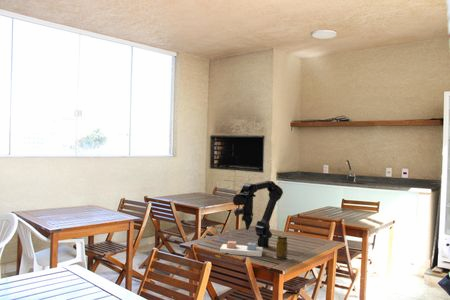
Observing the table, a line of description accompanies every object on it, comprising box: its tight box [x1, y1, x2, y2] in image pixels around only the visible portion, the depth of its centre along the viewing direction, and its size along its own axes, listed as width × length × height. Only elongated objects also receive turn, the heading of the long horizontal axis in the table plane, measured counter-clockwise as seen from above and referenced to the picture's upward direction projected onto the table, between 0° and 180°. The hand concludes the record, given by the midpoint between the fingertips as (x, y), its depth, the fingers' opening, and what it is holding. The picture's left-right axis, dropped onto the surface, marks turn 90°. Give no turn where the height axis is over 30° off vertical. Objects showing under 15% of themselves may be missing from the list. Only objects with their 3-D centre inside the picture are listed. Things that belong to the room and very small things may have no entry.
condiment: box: [272, 235, 293, 261], centre depth 221 cm, size 7×8×12 cm
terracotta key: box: [226, 240, 237, 249], centre depth 230 cm, size 5×5×4 cm
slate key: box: [246, 242, 258, 250], centre depth 228 cm, size 5×5×4 cm
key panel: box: [219, 243, 264, 257], centre depth 229 cm, size 24×12×2 cm, turn 81°
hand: (247, 230), depth 236 cm, fingers closed
